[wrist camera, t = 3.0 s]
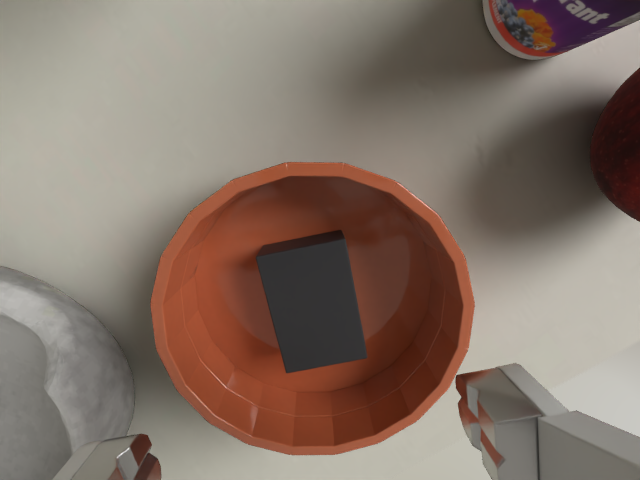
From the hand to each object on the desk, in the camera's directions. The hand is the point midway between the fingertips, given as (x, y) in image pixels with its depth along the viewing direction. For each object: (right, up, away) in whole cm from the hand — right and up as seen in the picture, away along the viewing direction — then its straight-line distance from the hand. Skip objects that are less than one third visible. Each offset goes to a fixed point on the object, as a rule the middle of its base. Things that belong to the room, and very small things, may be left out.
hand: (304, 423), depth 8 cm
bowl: (0, +2, +8) cm, 9 cm away
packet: (0, +2, +8) cm, 8 cm away
